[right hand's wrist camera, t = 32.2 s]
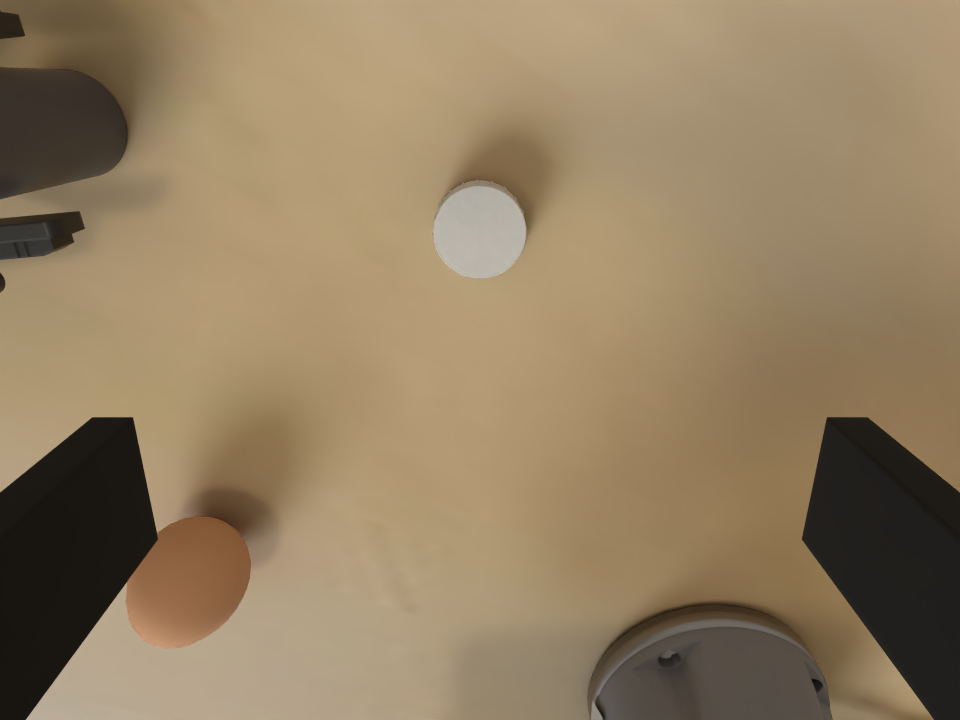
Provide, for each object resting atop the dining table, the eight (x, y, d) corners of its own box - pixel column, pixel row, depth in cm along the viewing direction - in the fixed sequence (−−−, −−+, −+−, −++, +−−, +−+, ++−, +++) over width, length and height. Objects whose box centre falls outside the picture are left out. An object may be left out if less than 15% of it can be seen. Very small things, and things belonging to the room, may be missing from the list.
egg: (271, 575, 41) (226, 680, 34) (174, 574, 41) (108, 680, 34) (260, 492, 39) (209, 586, 32) (157, 492, 39) (83, 586, 32)
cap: (455, 164, 32) (454, 169, 30) (539, 201, 33) (543, 208, 31) (421, 248, 34) (418, 257, 32) (502, 282, 35) (503, 293, 33)
